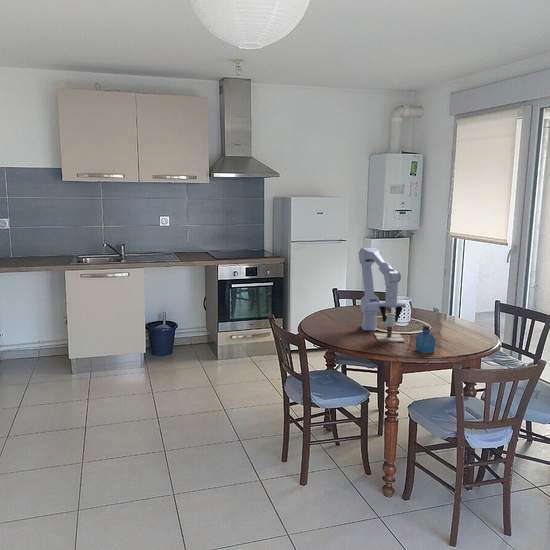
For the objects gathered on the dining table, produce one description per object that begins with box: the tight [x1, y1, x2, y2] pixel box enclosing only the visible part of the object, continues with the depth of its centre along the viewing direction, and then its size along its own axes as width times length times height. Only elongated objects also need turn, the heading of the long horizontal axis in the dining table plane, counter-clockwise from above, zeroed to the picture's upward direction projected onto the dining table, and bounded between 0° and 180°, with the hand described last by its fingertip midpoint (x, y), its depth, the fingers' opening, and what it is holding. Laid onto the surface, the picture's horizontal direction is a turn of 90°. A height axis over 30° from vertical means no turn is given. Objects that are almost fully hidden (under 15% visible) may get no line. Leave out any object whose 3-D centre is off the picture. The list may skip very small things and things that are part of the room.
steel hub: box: [383, 313, 397, 327], centre depth 269 cm, size 6×6×5 cm
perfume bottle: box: [415, 325, 436, 354], centre depth 250 cm, size 6×6×12 cm
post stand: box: [373, 326, 406, 343], centre depth 270 cm, size 13×13×6 cm
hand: (389, 321), depth 269 cm, fingers closed on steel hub, 5 cm apart
